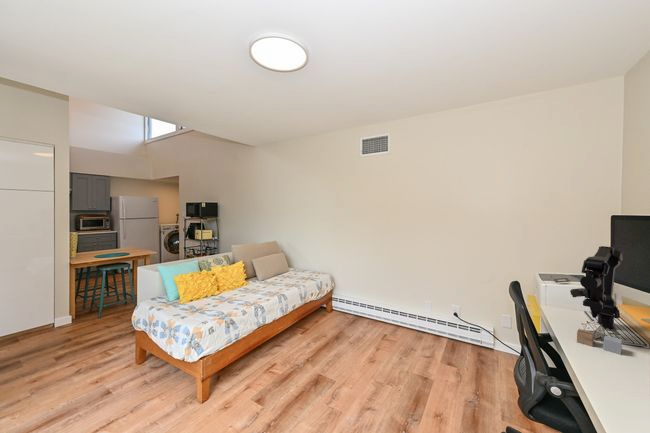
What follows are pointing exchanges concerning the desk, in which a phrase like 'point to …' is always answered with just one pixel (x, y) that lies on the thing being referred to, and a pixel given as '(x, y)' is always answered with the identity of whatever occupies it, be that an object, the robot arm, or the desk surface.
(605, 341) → the slate block
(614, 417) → the desk surface
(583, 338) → the walnut block
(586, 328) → the game die
